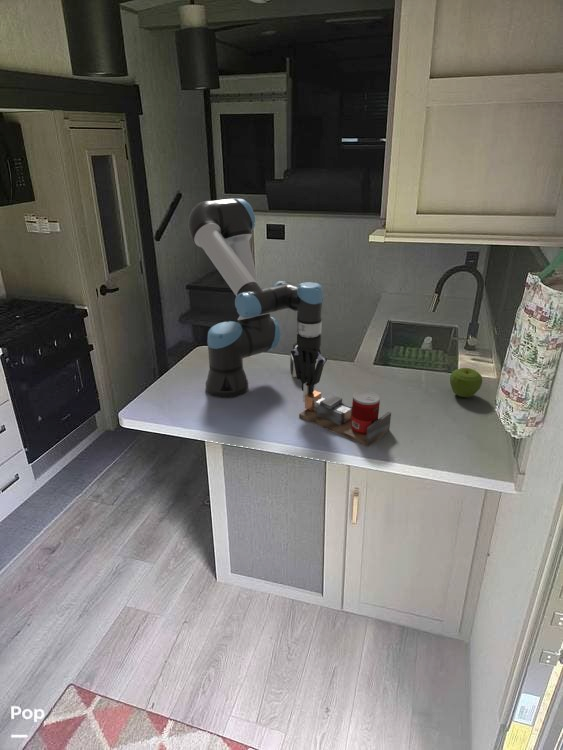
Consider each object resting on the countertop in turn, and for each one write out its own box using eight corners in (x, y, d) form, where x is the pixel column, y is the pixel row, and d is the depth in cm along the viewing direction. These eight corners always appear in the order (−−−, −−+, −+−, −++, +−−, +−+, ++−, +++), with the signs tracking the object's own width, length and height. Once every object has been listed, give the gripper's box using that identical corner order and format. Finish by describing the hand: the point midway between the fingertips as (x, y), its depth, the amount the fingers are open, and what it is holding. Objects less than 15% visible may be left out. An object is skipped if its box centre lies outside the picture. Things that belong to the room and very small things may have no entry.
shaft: (304, 408, 168) (305, 395, 166) (313, 402, 172) (314, 390, 170) (342, 423, 160) (343, 410, 158) (351, 417, 163) (352, 404, 161)
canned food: (376, 436, 154) (379, 404, 149) (349, 433, 155) (351, 401, 150) (377, 423, 161) (380, 392, 156) (351, 420, 162) (353, 389, 157)
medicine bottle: (290, 369, 198) (290, 340, 193) (308, 368, 199) (309, 339, 194) (292, 377, 192) (293, 347, 187) (311, 376, 193) (312, 347, 188)
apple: (448, 386, 186) (452, 361, 182) (479, 391, 183) (484, 365, 179) (446, 399, 177) (450, 373, 173) (478, 405, 174) (483, 378, 170)
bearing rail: (299, 417, 166) (299, 399, 163) (321, 403, 174) (322, 386, 172) (368, 446, 151) (370, 427, 148) (389, 430, 159) (391, 411, 156)
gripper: (285, 331, 161) (284, 398, 171) (318, 342, 153) (316, 411, 163) (300, 325, 166) (299, 390, 176) (333, 335, 158) (330, 402, 168)
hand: (307, 400), depth 170 cm, fingers closed
